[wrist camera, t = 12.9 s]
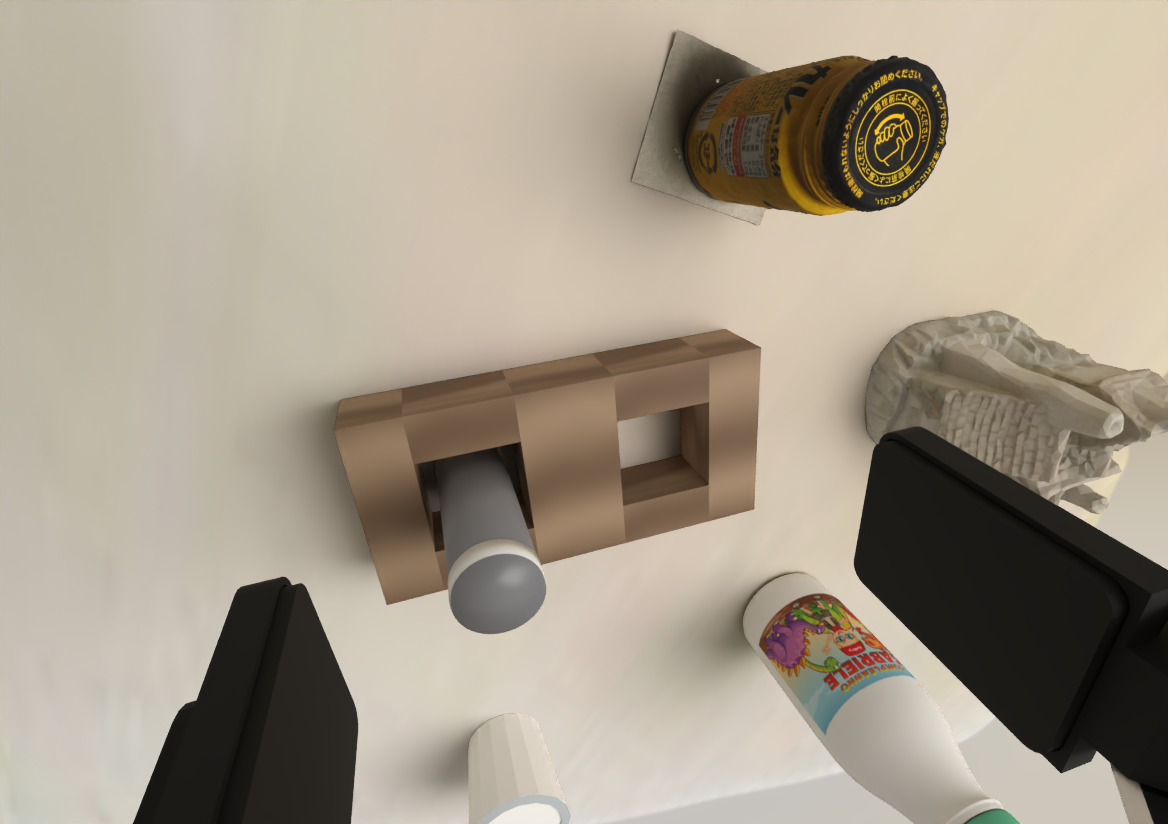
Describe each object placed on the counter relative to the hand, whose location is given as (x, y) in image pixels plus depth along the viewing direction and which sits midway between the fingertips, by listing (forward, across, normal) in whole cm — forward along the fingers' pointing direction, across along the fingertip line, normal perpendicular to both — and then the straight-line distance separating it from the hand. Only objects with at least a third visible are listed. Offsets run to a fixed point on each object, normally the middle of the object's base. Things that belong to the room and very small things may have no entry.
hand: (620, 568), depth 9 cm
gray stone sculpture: (+24, -34, +16) cm, 45 cm away
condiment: (+25, -14, -5) cm, 29 cm away
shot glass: (+23, +4, +36) cm, 43 cm away
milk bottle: (+23, -20, +31) cm, 44 cm away
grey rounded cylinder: (+24, +2, +12) cm, 27 cm away
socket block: (+24, -3, +12) cm, 27 cm away
